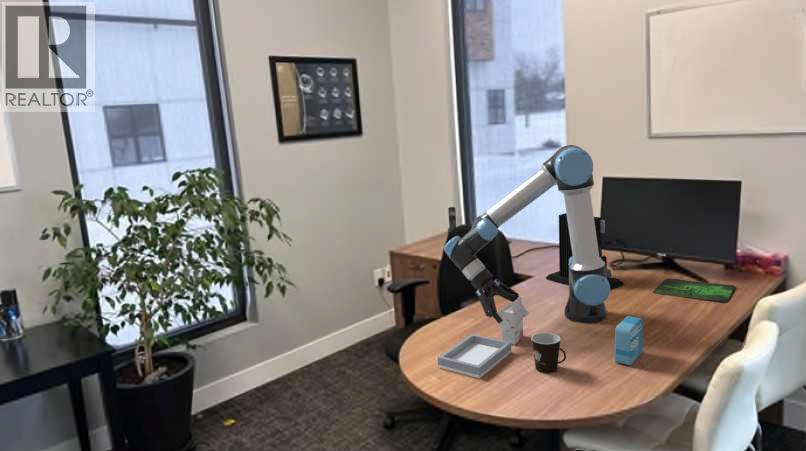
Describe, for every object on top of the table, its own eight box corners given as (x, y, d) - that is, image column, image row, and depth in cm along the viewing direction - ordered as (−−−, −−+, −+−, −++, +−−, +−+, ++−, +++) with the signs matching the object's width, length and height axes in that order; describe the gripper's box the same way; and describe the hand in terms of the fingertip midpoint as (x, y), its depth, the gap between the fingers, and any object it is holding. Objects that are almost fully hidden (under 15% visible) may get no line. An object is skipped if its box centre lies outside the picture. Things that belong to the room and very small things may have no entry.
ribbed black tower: (627, 284, 246) (627, 215, 240) (599, 294, 236) (599, 223, 230) (570, 270, 271) (569, 207, 265) (543, 279, 261) (541, 214, 255)
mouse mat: (651, 294, 233) (651, 291, 233) (665, 279, 250) (665, 276, 250) (727, 304, 216) (727, 302, 216) (736, 287, 233) (736, 285, 233)
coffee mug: (528, 363, 179) (527, 334, 177) (555, 361, 180) (554, 331, 178) (540, 381, 168) (539, 349, 166) (568, 378, 169) (568, 346, 167)
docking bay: (511, 352, 188) (511, 342, 188) (479, 378, 172) (479, 367, 172) (472, 343, 198) (471, 333, 197) (438, 367, 181) (437, 357, 181)
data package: (629, 367, 173) (630, 330, 170) (614, 363, 176) (614, 327, 173) (642, 352, 182) (643, 317, 179) (628, 349, 184) (628, 314, 182)
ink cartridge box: (510, 333, 203) (508, 294, 200) (523, 335, 201) (522, 295, 198) (501, 342, 196) (499, 302, 193) (514, 345, 194) (513, 304, 191)
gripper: (488, 271, 213) (527, 316, 207) (452, 291, 194) (493, 341, 188) (501, 259, 209) (540, 304, 203) (465, 278, 190) (507, 328, 184)
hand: (518, 322), depth 196 cm, fingers open, 13 cm apart
